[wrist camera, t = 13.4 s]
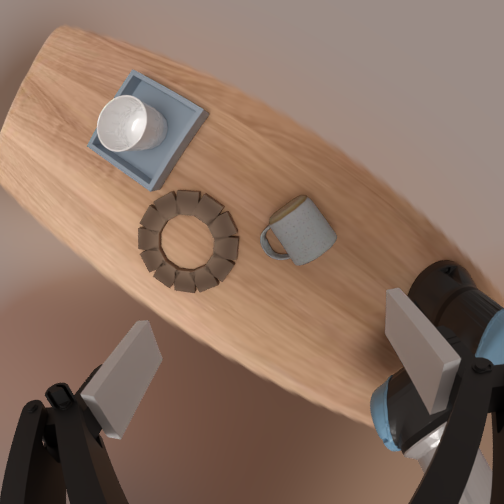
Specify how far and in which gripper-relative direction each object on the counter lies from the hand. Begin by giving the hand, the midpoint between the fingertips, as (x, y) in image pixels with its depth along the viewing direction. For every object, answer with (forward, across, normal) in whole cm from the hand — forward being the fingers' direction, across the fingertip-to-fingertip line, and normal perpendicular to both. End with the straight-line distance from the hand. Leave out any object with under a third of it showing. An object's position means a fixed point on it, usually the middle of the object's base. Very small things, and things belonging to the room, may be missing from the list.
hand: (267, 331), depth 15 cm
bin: (+33, +17, -18) cm, 41 cm away
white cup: (+32, +17, -18) cm, 41 cm away
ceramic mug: (+33, -3, +2) cm, 33 cm away
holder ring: (+33, +14, +1) cm, 36 cm away
